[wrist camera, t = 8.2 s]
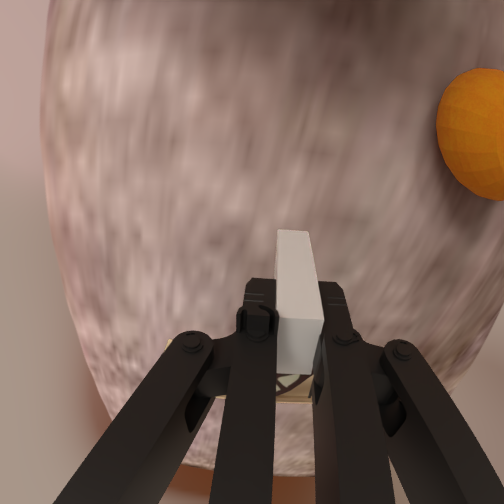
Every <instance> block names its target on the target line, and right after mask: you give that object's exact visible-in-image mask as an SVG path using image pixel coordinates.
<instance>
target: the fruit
mask: <svg viewBox="0 0 504 504" xmlns="http://www.w3.org/2000/svg"><path fill="white" fill-rule="evenodd" d="M436 129H437V137H438V145H439V147H440V150H441V153H442V155H443V158H444V161H445V163H446V165H447V166H448V168H449V169H450V170H451V172H452V173H453V175H454V176H455V178H456V179H457V180H458V181H459V182H460V183H461V184H462V185H464V186H465V187H466V188H468V189H469V190H470V191H472V192H473V193H474V194H476V195H478V196H480V197H484V198H488V199H492V200H496V201H502V200H504V72H503V71H500V70H496V69H485V68H476V69H472V70H470V71H467V72H465V73H463V74H460V75H459V76H457V77H456V78H455V79H454V80H453V81H452V82H451V83H450V84H449V86H448V87H447V88H446V89H445V91H444V94H443V96H442V98H441V101H440V103H439V105H438V112H437V120H436Z"/></svg>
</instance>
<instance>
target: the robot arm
mask: <svg viewBox="0 0 504 504" xmlns="http://www.w3.org/2000/svg"><path fill="white" fill-rule="evenodd" d="M312 368H313V373H314V377H313V380H312V384H311V387H310V391H309V395H308V398H311V396H312V407H313V427H314V452H315V491H316V504H395V497H394V490H393V484H392V477H391V470H390V464H389V458H390V460H391V462H392V464H393V467H394V468H395V471H396V473H397V475H398V478H399V480H400V482H401V484H402V487H403V489H404V491H405V493H406V496H407V498H408V500H409V503H410V504H504V487H503V485H502V483H501V481H500V479H499V477H498V476H497V474H496V472H495V470H494V468H493V467H492V465H491V463H490V461H489V459H488V458H487V456H486V454H485V452H484V451H483V449H482V448H481V446H480V444H479V442H478V441H477V439H476V437H475V436H474V434H473V432H472V431H471V429H470V427H469V426H468V424H467V422H466V421H465V419H464V418H463V416H462V415H461V413H460V411H459V410H458V408H457V407H456V405H455V403H454V402H453V400H452V399H451V397H450V396H449V394H448V393H447V391H446V390H445V388H444V387H443V385H442V384H441V382H440V381H439V379H438V378H437V376H436V375H435V373H434V372H433V370H432V369H431V367H430V366H429V365H428V363H427V362H426V360H425V359H424V357H423V356H422V355H421V353H420V352H419V350H418V349H417V348H416V347H415V346H414V345H413V344H411V343H410V342H408V341H405V340H401V339H397V340H392V341H389V342H388V343H387V344H386V345H385V347H380V346H376V345H372V344H369V343H366V342H365V341H363V340H362V337H361V335H360V334H359V333H358V332H357V331H356V330H355V329H353V326H352V322H351V318H350V314H349V311H348V307H347V303H346V299H345V296H344V292H343V289H342V288H341V287H340V286H339V285H338V284H337V283H336V282H324V281H318V280H317V275H316V269H315V264H314V258H313V253H312V248H311V243H310V238H309V233H308V231H297V230H282V229H278V232H277V245H276V258H275V270H274V279H262V278H252V279H251V280H250V281H249V282H248V283H247V284H246V288H245V295H244V301H243V306H242V307H241V308H239V310H238V312H237V314H236V332H234V333H233V334H232V335H230V336H227V337H224V338H220V339H213V340H212V339H211V338H210V337H209V336H208V335H207V334H205V333H203V332H200V331H186V332H183V333H181V334H179V335H177V336H176V337H175V338H174V339H173V340H172V342H171V343H170V344H169V346H168V347H167V348H166V350H165V351H164V353H163V354H162V355H161V357H160V358H159V359H158V361H157V362H156V363H155V365H154V366H153V367H152V369H151V370H150V371H149V373H148V374H147V375H146V377H145V378H144V379H143V381H142V382H141V383H140V385H139V386H138V387H137V389H136V390H135V392H134V393H133V394H132V396H131V397H130V398H129V400H128V401H127V402H126V404H125V405H124V406H123V408H122V409H121V410H120V412H119V413H118V415H117V416H116V417H115V419H114V420H113V421H112V423H111V424H110V426H109V427H108V428H107V430H106V431H105V432H104V434H103V435H102V436H101V438H100V439H99V441H98V442H97V443H96V445H95V446H94V447H93V449H92V450H91V452H90V453H89V454H88V456H87V457H86V458H85V460H84V461H83V462H82V464H81V466H80V467H79V468H78V469H77V471H76V472H75V474H74V475H73V476H72V478H71V479H70V481H69V482H68V483H67V485H66V486H65V488H64V489H63V490H62V492H61V493H60V495H59V496H58V497H57V499H56V500H55V501H54V503H53V504H158V503H159V501H160V500H161V498H162V496H163V494H164V493H165V491H166V489H167V487H168V485H169V484H170V482H171V480H172V478H173V477H174V475H175V473H176V471H177V469H178V468H179V466H180V464H181V462H182V460H183V458H184V457H185V455H186V453H187V451H188V449H189V447H190V446H191V444H192V442H193V440H194V438H195V436H196V434H197V433H198V431H199V429H200V427H201V425H202V423H203V421H204V419H205V418H206V416H207V414H208V412H209V410H210V408H211V406H212V404H213V402H214V400H215V398H216V396H222V395H226V400H225V406H224V412H223V418H222V424H221V431H220V437H219V443H218V449H217V455H216V461H215V468H214V474H213V480H212V486H211V493H210V499H209V504H271V501H272V482H273V462H274V438H275V410H276V375H277V373H282V374H307V375H311V372H312ZM388 456H389V458H388Z"/></svg>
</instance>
